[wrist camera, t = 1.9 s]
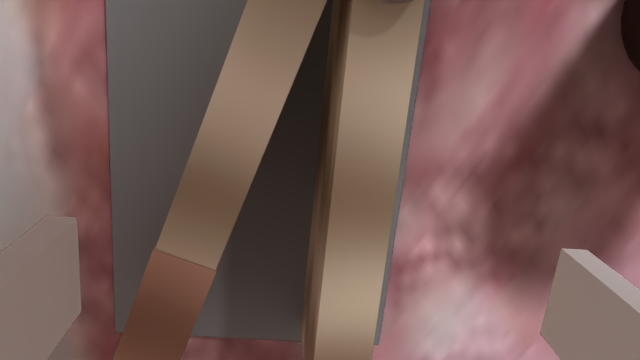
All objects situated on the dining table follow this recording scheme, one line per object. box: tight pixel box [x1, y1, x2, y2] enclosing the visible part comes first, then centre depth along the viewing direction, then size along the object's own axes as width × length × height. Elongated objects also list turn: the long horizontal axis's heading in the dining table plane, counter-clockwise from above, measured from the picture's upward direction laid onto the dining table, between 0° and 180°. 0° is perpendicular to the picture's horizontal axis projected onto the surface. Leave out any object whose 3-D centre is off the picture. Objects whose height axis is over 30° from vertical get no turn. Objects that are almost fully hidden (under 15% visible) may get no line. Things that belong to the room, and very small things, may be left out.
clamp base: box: [302, 0, 424, 360], centre depth 19 cm, size 18×2×8 cm, turn 174°
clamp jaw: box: [112, 0, 327, 360], centre depth 19 cm, size 16×2×7 cm, turn 156°
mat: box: [106, 0, 431, 345], centre depth 23 cm, size 19×13×1 cm
